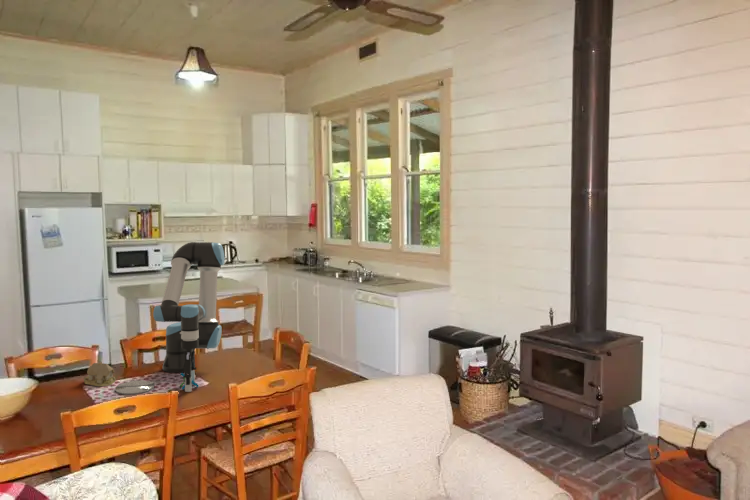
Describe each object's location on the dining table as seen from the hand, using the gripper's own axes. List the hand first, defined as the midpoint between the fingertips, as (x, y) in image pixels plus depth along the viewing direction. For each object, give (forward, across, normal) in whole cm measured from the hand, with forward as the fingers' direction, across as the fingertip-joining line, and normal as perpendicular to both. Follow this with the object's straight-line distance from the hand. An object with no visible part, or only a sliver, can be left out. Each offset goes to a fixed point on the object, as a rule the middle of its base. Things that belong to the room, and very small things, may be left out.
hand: (189, 387), depth 253 cm
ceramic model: (+1, -13, -42) cm, 44 cm away
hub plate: (0, -2, -24) cm, 24 cm away
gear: (0, 0, 0) cm, 1 cm away
